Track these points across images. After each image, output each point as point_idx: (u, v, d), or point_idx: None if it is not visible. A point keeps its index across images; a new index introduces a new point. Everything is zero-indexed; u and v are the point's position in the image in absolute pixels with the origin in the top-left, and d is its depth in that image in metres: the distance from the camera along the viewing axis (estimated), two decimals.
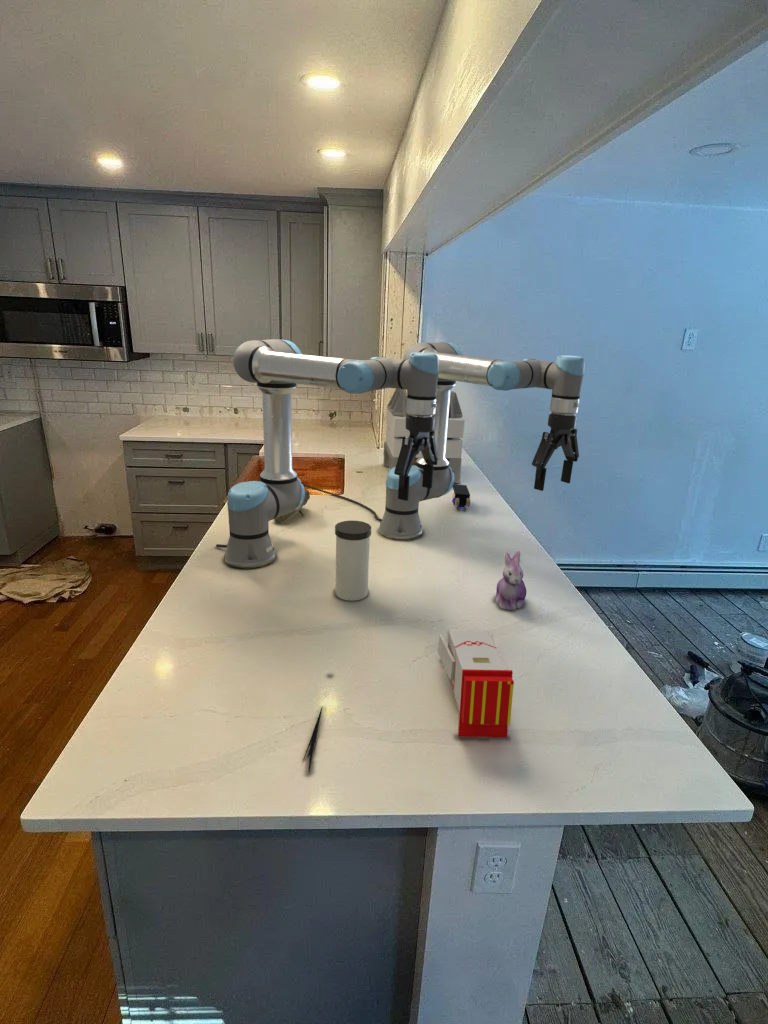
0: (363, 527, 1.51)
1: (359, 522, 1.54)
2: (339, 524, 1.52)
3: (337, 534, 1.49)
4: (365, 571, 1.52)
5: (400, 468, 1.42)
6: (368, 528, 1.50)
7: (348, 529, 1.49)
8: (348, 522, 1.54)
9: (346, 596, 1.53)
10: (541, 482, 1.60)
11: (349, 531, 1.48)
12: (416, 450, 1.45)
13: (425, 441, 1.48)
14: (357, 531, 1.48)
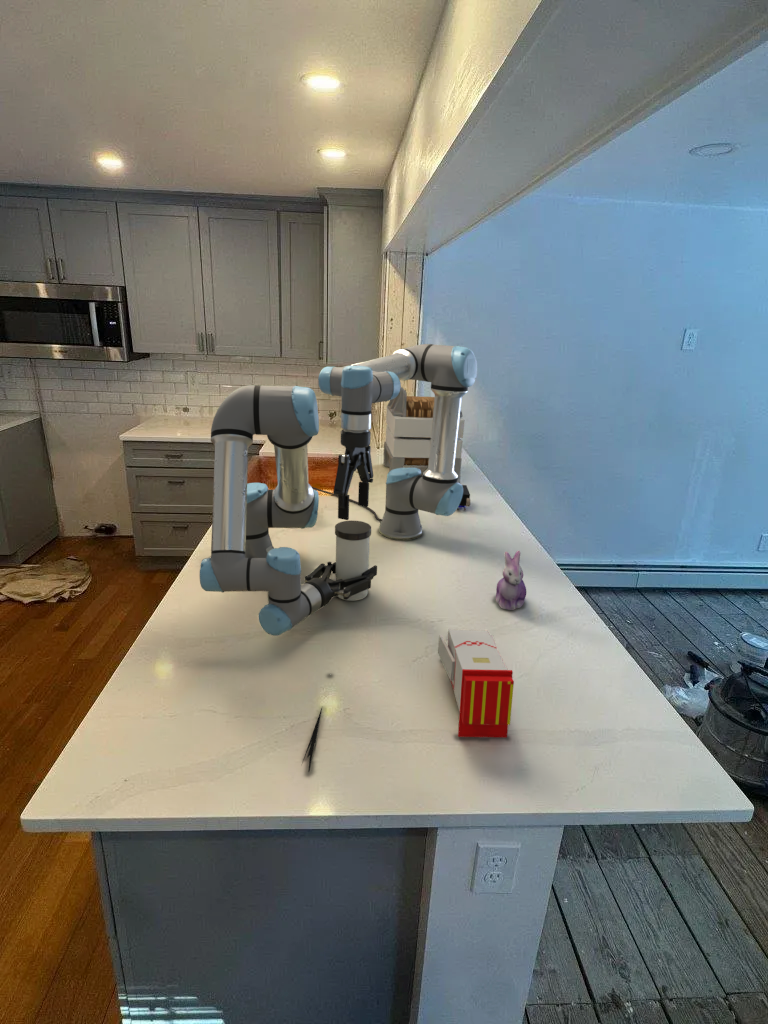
0: (363, 527, 1.51)
1: (359, 522, 1.54)
2: (339, 524, 1.52)
3: (337, 534, 1.49)
4: None
5: None
6: (368, 528, 1.50)
7: (348, 529, 1.49)
8: (348, 522, 1.54)
9: None
10: None
11: (349, 531, 1.48)
12: None
13: None
14: (357, 531, 1.48)
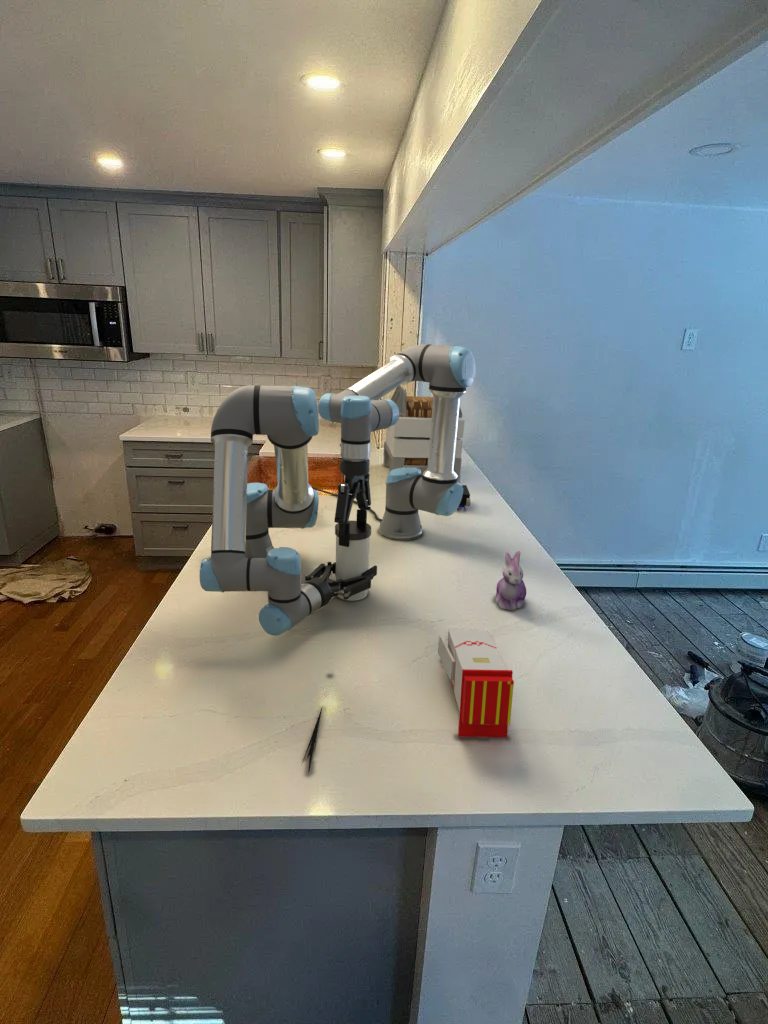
0: (363, 527, 1.51)
1: (359, 522, 1.54)
2: None
3: (337, 534, 1.49)
4: None
5: None
6: (368, 528, 1.50)
7: None
8: (348, 522, 1.54)
9: None
10: None
11: None
12: None
13: None
14: (357, 531, 1.48)
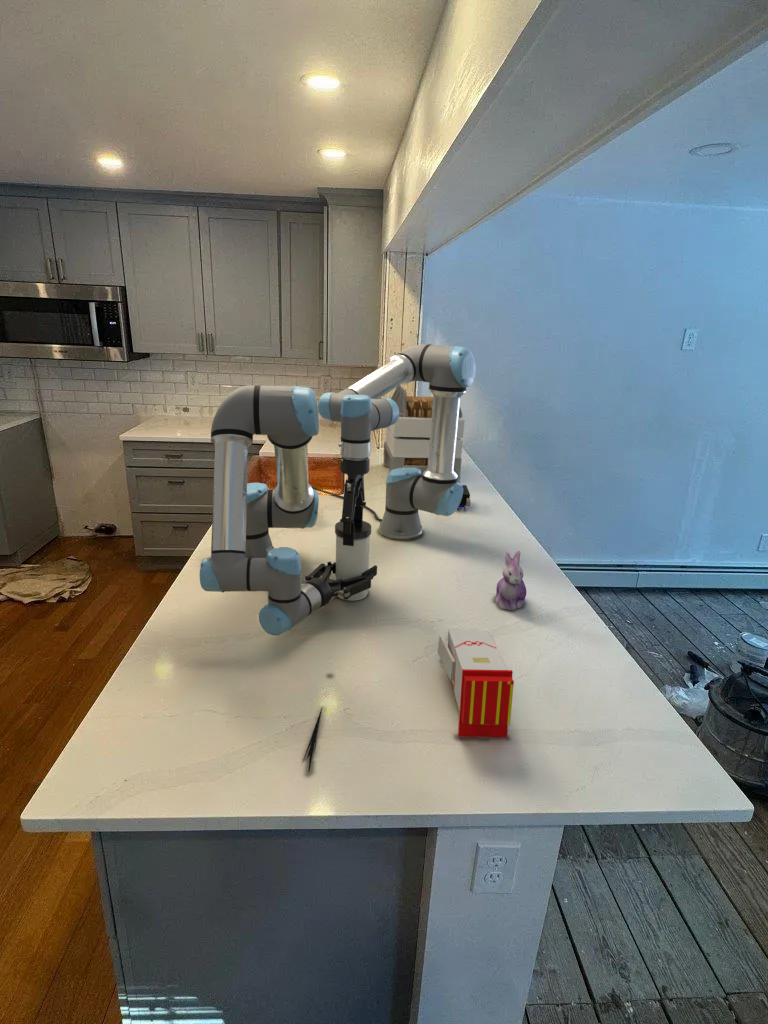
0: None
1: (339, 524, 1.51)
2: None
3: (365, 535, 1.48)
4: None
5: None
6: None
7: (361, 527, 1.50)
8: (342, 528, 1.49)
9: None
10: None
11: (366, 526, 1.50)
12: None
13: None
14: (364, 523, 1.52)
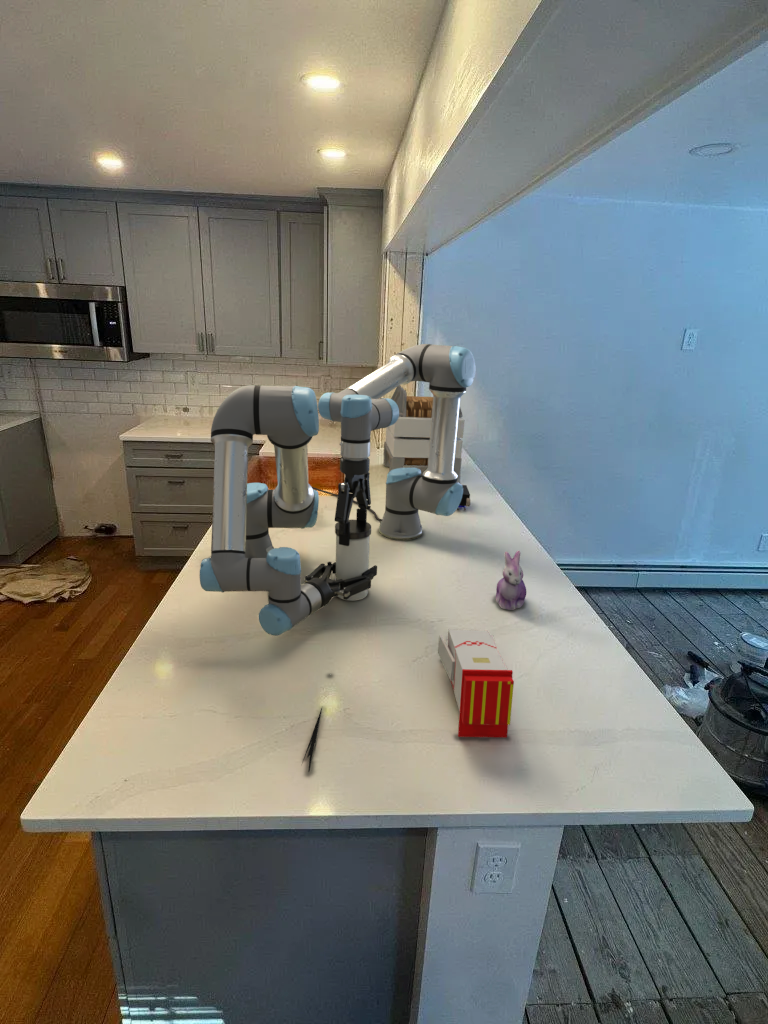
0: (352, 522, 1.53)
1: None
2: None
3: (365, 535, 1.48)
4: None
5: None
6: (353, 520, 1.55)
7: (361, 527, 1.50)
8: None
9: None
10: None
11: (366, 526, 1.50)
12: None
13: None
14: (364, 523, 1.52)
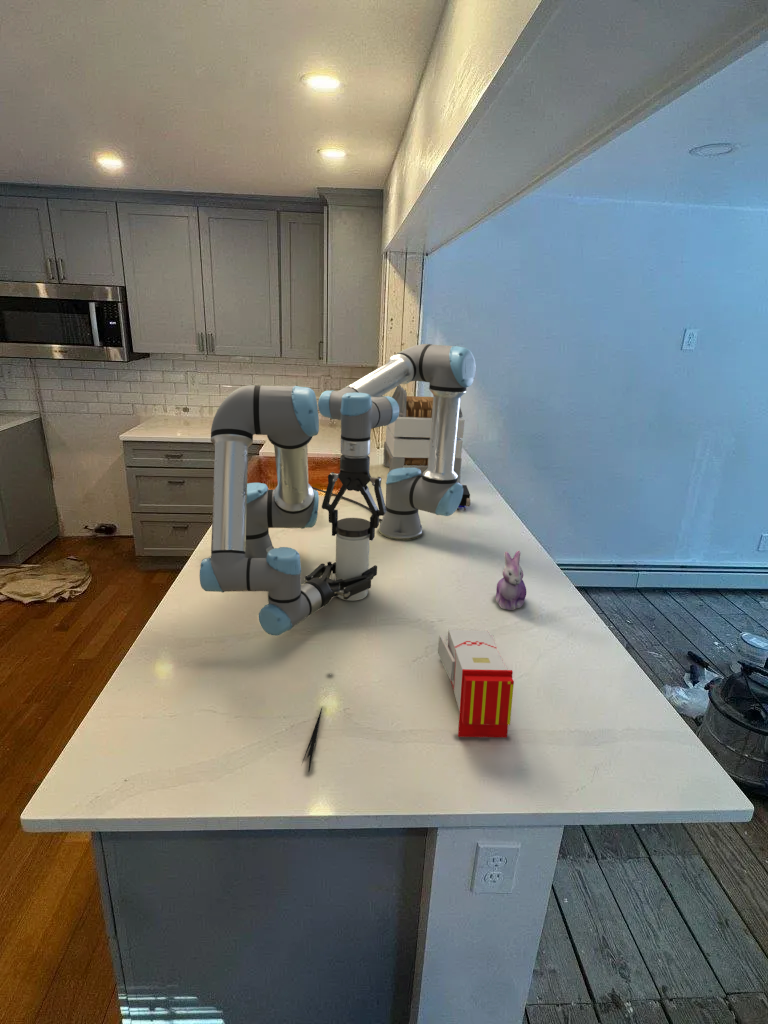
0: (343, 524, 1.50)
1: (352, 529, 1.47)
2: (368, 524, 1.51)
3: None
4: None
5: None
6: (338, 524, 1.50)
7: (355, 521, 1.53)
8: (362, 527, 1.48)
9: None
10: None
11: (352, 519, 1.54)
12: None
13: None
14: (345, 520, 1.53)
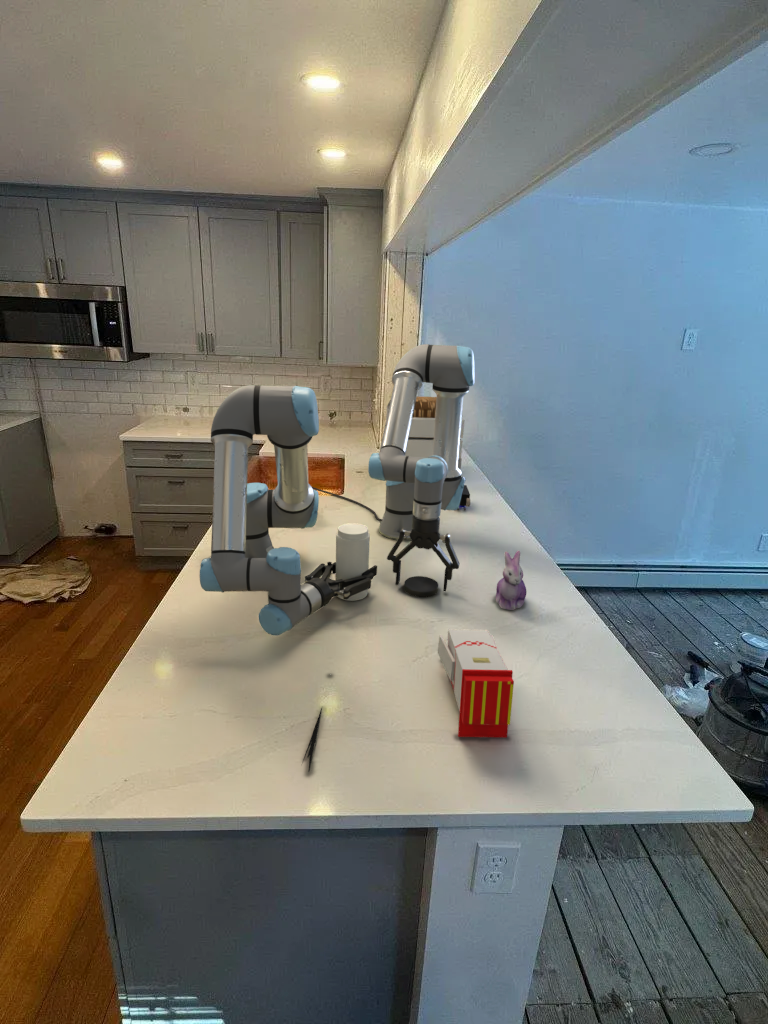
0: (412, 584, 1.59)
1: (421, 589, 1.57)
2: (435, 584, 1.60)
3: None
4: None
5: None
6: (407, 584, 1.59)
7: (422, 580, 1.62)
8: (430, 587, 1.58)
9: None
10: (396, 576, 1.61)
11: (419, 578, 1.64)
12: None
13: None
14: (412, 579, 1.63)
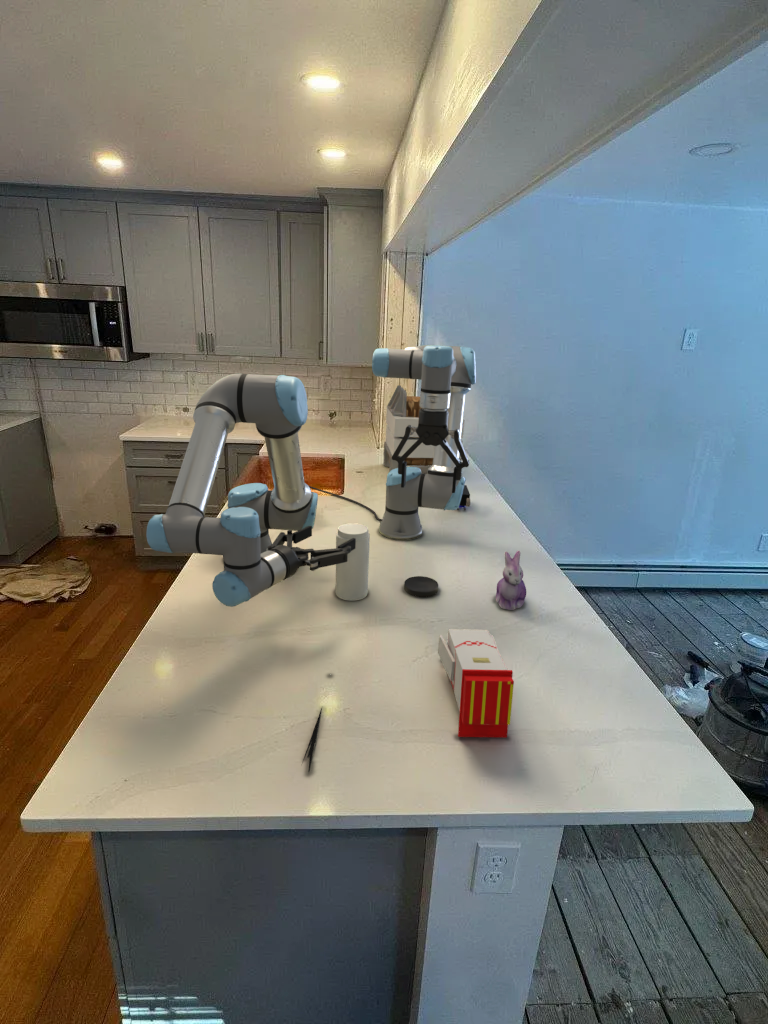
0: (412, 584, 1.59)
1: (421, 589, 1.57)
2: (435, 584, 1.60)
3: None
4: (365, 571, 1.52)
5: None
6: (407, 584, 1.59)
7: (422, 580, 1.62)
8: (430, 587, 1.58)
9: (346, 596, 1.53)
10: None
11: (419, 578, 1.64)
12: None
13: None
14: (412, 579, 1.63)
